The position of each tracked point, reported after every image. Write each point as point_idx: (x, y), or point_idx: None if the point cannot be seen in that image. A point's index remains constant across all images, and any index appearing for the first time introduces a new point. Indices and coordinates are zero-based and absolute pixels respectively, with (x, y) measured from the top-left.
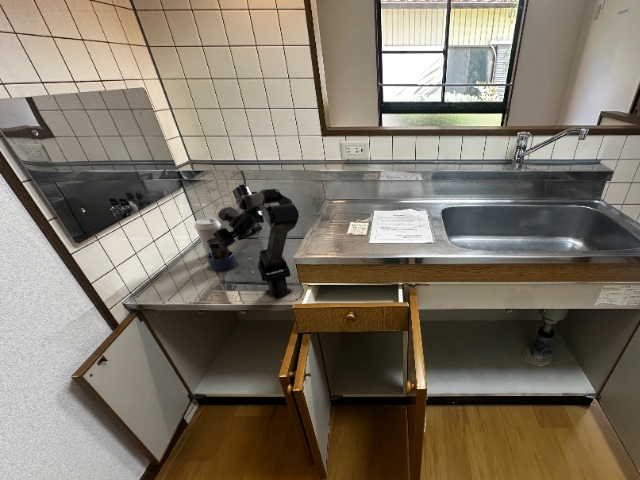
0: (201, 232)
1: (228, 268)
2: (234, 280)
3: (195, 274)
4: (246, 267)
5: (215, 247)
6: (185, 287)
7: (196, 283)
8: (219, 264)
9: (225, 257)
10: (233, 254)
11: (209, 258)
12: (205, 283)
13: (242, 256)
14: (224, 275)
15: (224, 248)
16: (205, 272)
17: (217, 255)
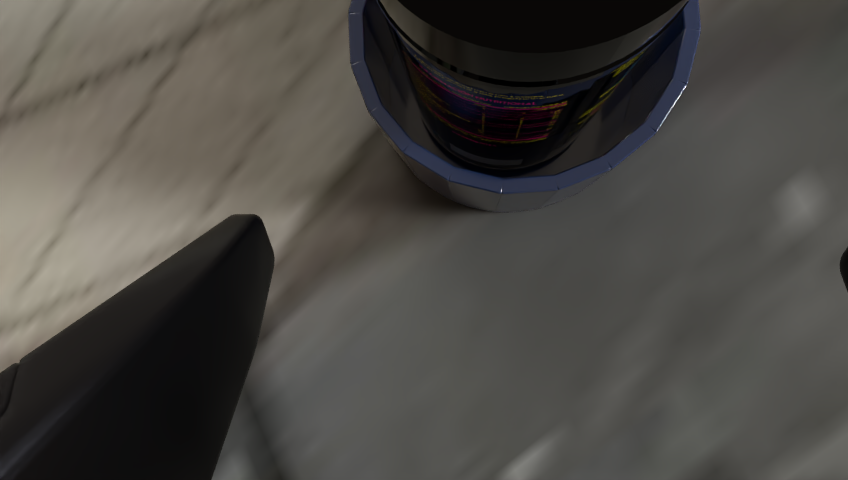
0: None
1: (459, 202)
2: (300, 419)
3: (254, 8)
4: (585, 328)
5: (383, 10)
6: (46, 134)
7: (129, 156)
8: (390, 142)
9: (485, 142)
10: (608, 171)
11: (356, 4)
12: (157, 224)
13: (807, 84)
14: (344, 258)
15: (513, 101)
16: (321, 53)
17: (408, 73)
